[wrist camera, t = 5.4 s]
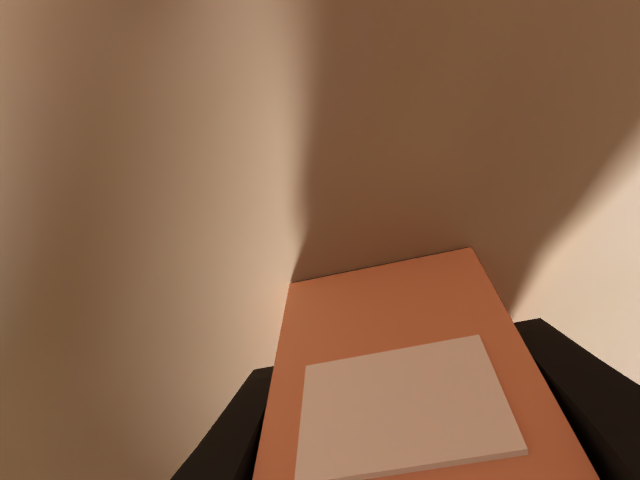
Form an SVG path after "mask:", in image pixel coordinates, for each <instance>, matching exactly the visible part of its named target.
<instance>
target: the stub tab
mask: <svg viewBox="0 0 640 480" xmlns="http://www.w3.org/2000/svg"><path fill="white" fill-rule="evenodd" d="M252 480H600V479H599V477H598V475H597V473H596V471H595V470H594V468H593V466H592V464H591V462H590V461H589V459H588V457H587V455H586V453H585V452H584V450H583V448H582V446H581V444H580V442H579V441H578V439H577V437H576V435H575V433H574V432H573V430H572V428H571V426H570V424H569V423H568V421H567V419H566V417H565V415H564V414H563V412H562V410H561V408H560V406H559V404H558V403H557V401H556V399H555V397H554V395H553V394H552V392H551V390H550V388H549V386H548V385H547V383H546V381H545V379H544V377H543V376H542V374H541V372H540V370H539V368H538V367H537V365H536V363H535V361H534V359H533V357H532V356H531V354H530V352H529V350H528V348H527V347H526V345H525V343H524V341H523V339H522V338H521V336H520V334H519V332H518V330H517V329H516V327H515V325H514V323H513V321H512V319H511V318H510V316H509V314H508V312H507V310H506V309H505V307H504V305H503V303H502V301H501V300H500V298H499V296H498V294H497V292H496V291H495V289H494V287H493V285H492V283H491V281H490V280H489V278H488V276H487V274H486V272H485V271H484V269H483V267H482V265H481V263H480V262H479V260H478V258H477V256H476V254H475V253H474V251H473V249H472V247H469V248H465V249H460V250H455V251H450V252H445V253H440V254H435V255H430V256H425V257H420V258H415V259H410V260H405V261H400V262H395V263H390V264H385V265H380V266H375V267H370V268H365V269H360V270H355V271H350V272H345V273H340V274H335V275H331V276H326V277H321V278H316V279H311V280H306V281H301V282H296V283H291V284H290V285H289V290H288V296H287V301H286V306H285V311H284V316H283V322H282V327H281V332H280V337H279V343H278V348H277V353H276V358H275V364H274V369H273V374H272V379H271V384H270V390H269V395H268V400H267V405H266V411H265V416H264V421H263V426H262V432H261V437H260V442H259V447H258V452H257V458H256V463H255V468H254V473H253V479H252Z"/></svg>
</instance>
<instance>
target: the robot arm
mask: <svg viewBox="0 0 640 480" xmlns="http://www.w3.org/2000/svg"><path fill="white" fill-rule="evenodd" d="M514 325H515V327H516V329H517V330H518V332H519V334H520V336H521V338H522V339H523V341H524V343H525V345H526V347H527V348H528V350H529V352H530V354H531V356H532V357H533V359H534V361H535V363H536V365H537V367H538V368H539V370H540V372H541V374H542V376H543V377H544V379H545V381H546V383H547V385H548V386H549V388H550V390H551V392H552V394H553V395H554V397H555V399H556V401H557V403H558V404H559V406H560V408H561V410H562V412H563V414H564V415H565V417H566V419H567V421H568V423H569V424H570V426H571V428H572V430H573V432H574V433H575V435H576V437H577V439H578V441H579V442H580V444H581V446H582V448H583V450H584V452H585V453H586V455H587V457H588V459H589V461H590V462H591V464H592V466H593V468H594V470H595V471H596V473H597V475H598V477H599V479H600V480H640V385H638V384H637V383H635V382H634V381H632V380H631V379H629V378H627V377H626V376H624V375H623V374H621V373H620V372H618V371H616V370H615V369H613V368H612V367H610V366H609V365H607V364H606V363H604V362H603V361H601V360H600V359H598V358H597V357H595V356H594V355H593V354H591V353H590V352H588V351H587V350H585V349H584V348H582V347H581V346H579V345H578V344H577V343H575V342H574V341H572V340H571V339H570V338H568V337H567V336H565V335H564V334H562V333H561V332H560V331H558V330H557V329H555V328H554V327H553V326H551V325H550V324H548V323H547V322H545V321H544V320H542V319H541V318H538V319H532V320H527V321H521V322H516V323H514ZM273 369H274V366H272V367H266V368H261V369H255V370H253V372H252V373H251V374H250V375H249V377H248V378H247V379H246V381H245V382H244V384H243V385H242V386H241V388H240V389H239V391H238V392H237V393H236V395H235V396H234V397H233V399H232V400H231V402H230V403H229V404H228V406H227V407H226V409H225V410H224V411H223V413H222V414H221V415H220V417H219V418H218V420H217V421H216V422H215V424H214V425H213V426H212V428H211V429H210V430H209V432H208V433H207V434H206V436H205V437H204V438H203V440H202V441H201V442H200V444H199V445H198V446H197V448H196V449H195V450H194V451H193V453H192V454H191V455H190V456H189V457H188V459H187V460H186V461H185V462H184V463H183V465H182V466H181V467H180V468H179V469H178V471H177V472H176V473H175V474H174V476H173V477H172V478H171V479H170V480H252V479H253V473H254V468H255V463H256V458H257V452H258V447H259V442H260V437H261V432H262V426H263V421H264V416H265V411H266V405H267V400H268V395H269V390H270V384H271V379H272V374H273Z"/></svg>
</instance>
